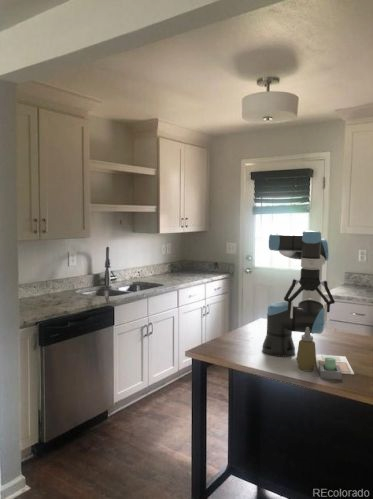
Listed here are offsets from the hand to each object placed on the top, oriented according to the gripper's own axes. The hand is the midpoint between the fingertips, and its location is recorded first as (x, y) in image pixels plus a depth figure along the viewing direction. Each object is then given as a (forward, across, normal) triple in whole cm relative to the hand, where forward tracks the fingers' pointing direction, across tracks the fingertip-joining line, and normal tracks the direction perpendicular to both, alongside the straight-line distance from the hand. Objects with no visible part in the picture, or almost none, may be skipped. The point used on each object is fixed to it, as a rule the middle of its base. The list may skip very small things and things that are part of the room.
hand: (308, 318), depth 177 cm
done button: (+20, +9, -4) cm, 23 cm away
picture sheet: (+22, +12, +9) cm, 26 cm away
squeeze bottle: (+22, 0, 0) cm, 22 cm away
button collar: (+22, +9, -4) cm, 24 cm away
